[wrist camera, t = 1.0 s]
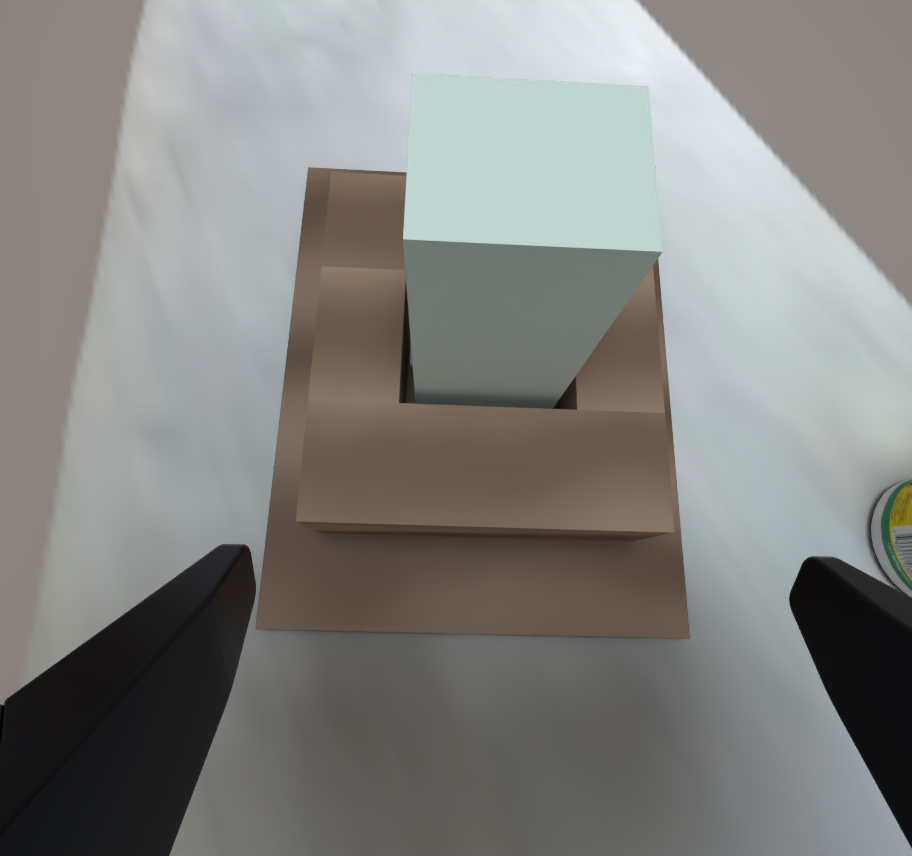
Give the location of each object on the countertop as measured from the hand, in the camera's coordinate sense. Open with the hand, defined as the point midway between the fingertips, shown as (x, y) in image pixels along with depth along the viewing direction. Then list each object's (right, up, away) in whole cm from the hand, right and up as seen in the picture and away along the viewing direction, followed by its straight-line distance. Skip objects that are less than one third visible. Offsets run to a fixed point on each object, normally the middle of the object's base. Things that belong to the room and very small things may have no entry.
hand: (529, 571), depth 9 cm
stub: (0, +4, +14) cm, 15 cm away
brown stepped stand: (0, +4, +15) cm, 15 cm away
